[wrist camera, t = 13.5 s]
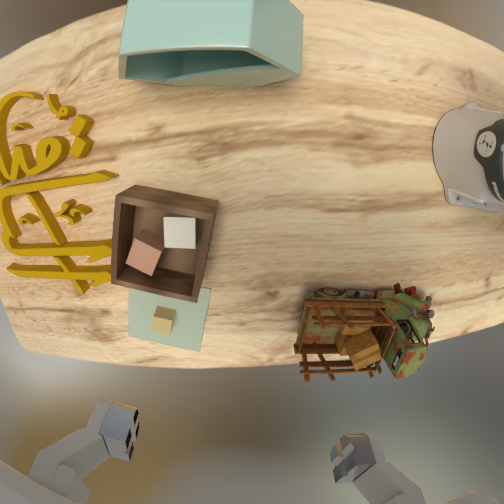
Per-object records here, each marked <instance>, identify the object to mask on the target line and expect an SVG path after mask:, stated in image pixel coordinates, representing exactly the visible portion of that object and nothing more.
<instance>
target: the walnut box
mask: <svg viewBox="0 0 504 504" xmlns="http://www.w3.org/2000/svg"><path fill="white" fill-rule="evenodd" d="M217 205H218V201H217V200H212V199H207V198H202V197H197V196H192V195H187V194H182V193H177V192H172V191H166V190H161V189H156V188H150V187H145V186H139V185H134V186H132V187H130V188H128V189H127V190H125V191H123V192H121V193H119V194H117V195H116V199H115V209H114V221H113V236H112V258H111V283H112V284H116V285H120V286H124V287H128V288H132V289H136V290H140V291H144V292H148V293H153V294H157V295H161V296H166V297H170V298H175V299H179V300H184V301H189V302H193V303H197V301H198V297H199V293H200V289H201V284H202V280H203V276H204V270H205V265H206V260H207V255H208V249H209V244H210V239H211V234H212V229H213V225H214V220H215V215H216V210H217ZM168 212H171V213H176V214H181V215H186V216H191V217H196V218H200V238H199V241H198V243H197V246H196V249H188V248H165V250H164V253H163V255H162V257H161V260H160V262H159V264H158V266H157V268H156V269H155V271H154V273H153V274H152V276H150V275H148V274H146V273H144V272H142V271H140V270H138V269H136V268H134V267H132V266H130V265H128V264H126V261H127V258H128V255H129V252H130V249H131V247H132V244H133V241H134V238H135V237H136V236H137V235H138V234H139V233H140V232H141V231H142V230H143V229H146V230H148V231H150V232H152V233H154V234H156V235H158V236H160V237H162V238H164V220H163V217H164V216H165V215H166V214H167V213H168Z"/></svg>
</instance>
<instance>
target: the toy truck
mask: <svg viewBox="0 0 504 504" xmlns="http://www.w3.org/2000/svg"><path fill="white" fill-rule="evenodd" d="M415 293H416V287H415V286H412V287H408V288H405V293H401V289H400V284H399V283H397V284H395V285H394V290H378V291H377V294H376V298H377V299H375V300H374V297H375V295H374V293H373V292H372V291H369V290H348V289H347V290H345V291H344V294H343V295H342V293H341V292H340V291H339V290H337V289H333V288H322V289H320V290H319V291H318V292H317V294H316V298H313V292H311V294H307V297H305V298H304V304H305V305H304V309H303V314H302V318H301V323H300V327H299V328H298V336H297V340H296V344H294V351H295V354H302V360H303V362H300V367H303V369H304V370H301V371H300V374H304V379H305V382H309V381H310V378H309V374H328V375H329V377H330V379H331V381H335V377H334V375H333V373H352V372H367V371H368V373H369V375H370V378H374V375H373V372H372V371H375V372H376V371H377V370H378V372H379V374H381V372H382V370H381V368H380V363H381V361H382V358H383V359H384V360H385V362H386V364H387V366H388V367H389V369H390V371H391V372H392V374H393V376H394V378H402V377H407V376H412V375H413V374H414V373H416V371H417V370H418V369H419V368H420V367H421V365H422V364H423V363H424V361H425V359H426V356H427V351H428V348H427V346H428V338H429V336H430V334H431V332H433V331H434V328H435V326H434V327H433V329H432V323H431V321H430V319H429V318H433V317H434V311H433V310H429V308H430V306H431V300H432V299H431V297H430V296H426V300H425V301H420V300H419V299H420V297H419V296H418V295H415ZM394 294H395V295H394ZM423 338H425V342H426V345H425V344H424V342H423V340H422V339H423ZM417 340H418V343H415V342H414V341H417ZM411 342H412V343H411ZM401 350H402V352H401ZM306 354H318V356H319V358H320V360H321V361H315V362H307V355H306ZM322 354H340V356H343V355H349V357H350V359H351V360H346V361H325V359H324V357H323V355H322ZM397 355H398V357H399V361H398V362H397V365H396V367H394V365H393V364H394V363H395V361H396V357H397ZM374 363H375V367H370V366H371V365H373V364H374ZM345 366H346V367H348V366H354V369H337V370H335V369H334V370H330V368H329V367H345ZM365 366H366V367H367V368H363V367H365ZM308 367H325V370H308Z"/></svg>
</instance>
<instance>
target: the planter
mask: <svg viewBox="0 0 504 504" xmlns="http://www.w3.org/2000/svg"><path fill="white" fill-rule="evenodd" d="M302 41H303V14H302V13H301V12H300V11H299V10H298V9H297V8H296V7H295V6H294V5H293V4H292V3H291V2H290V1H289V0H128V2H127V7H126V12H125V17H124V23H123V28H122V34H121V41H120V48H119V63H118V75H119V79H127V80H137V81H146V82H155V83H162V84H169V85H176V86H243V87H259V86H263V85H267V84H270V83H274V82H278V81H282V80H286V79H291V78H295V77H299V76H301V62H302Z"/></svg>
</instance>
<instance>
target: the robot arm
mask: <svg viewBox="0 0 504 504" xmlns="http://www.w3.org/2000/svg"><path fill="white" fill-rule="evenodd" d="M433 155H434V161H435V165H436V169H437V172H438V174H439V176H440V178H441V180H442V182H443V184H444V189H445V197H446V200H447V202H448V203H450V204H454V205H460V206H466V207H472V208H477V209H483V210H488V211H493V212H498V211H499V210H500V208H501V207H502V205H503V206H504V116H503V115H502V113H501V112H499V111H494V110H487V109H481V108H480V107H479V106H478V105H477V104H476V103H475V102H467V103H466V104H465V105H464V106H463V107H462V108H460V109H454V110H451V111H449V112H447V113H446V114H445V115H444V116H443V117H442V118H441V120H440V121H439V123H438V125H437V128H436V131H435V135H434V141H433ZM456 198H457V199H456ZM138 414H139V413H138V409H137V408H133V407H130V406H127V405H123V404H120V403H117V402H114V401H111V400H108V399H105V398H102V397H100V399H99V400H98V401H97V404H96V406H95V408H94V410H93V412H92V415H91V417H90V419H89V421H88V424H87V426H86V428H85V429H84V428H81V429H79V430H77V431H75V432H74V433H72V434H70V435H69V436H67V437H65V438H63V439H61V440H60V441H58V442H56V443H54V444H52V445H51V446H49V447H47V448H45V449H43V450H42V451H39V454H38V456H37V458H36V460H35V462H34V465H33V467H32V469H31V471H30V474H29V476H28V477H26V476H25V475H23V474H21V473H20V472H18V471H16V470H15V469H13V468H12V467H10V466H8V465H7V464H5V463H4V462H2V461H1V460H0V504H86V503H87V499H88V495H89V490H88V489H87V487H86V486H85V485H84V483H83V482H82V481H81V478H83V477H84V476H86V475H87V474H88V473H89V472H91V471H92V470H93V469H95V468H96V467H97V466H99V465H100V464H101V463H103V462H104V461H105V460H106V459H108V458H109V456H112V457H115V458H118V459H122V460H125V461H129V462H130V460H131V457H132V453H133V450H134V447H133V442H134V441H135V440H137V436H138V432H139V424H140V423H139V419H138V418H137V417H138ZM330 457H331V463H333V465H335V468H334V470H333V474H334V479H335V483H343V482H352V483H353V484H354V485H355V486H356V487H357V489H358V490H359V491H360V492H361V493H362V495H363V496H364V497H365V498H366V499H367V500H368V502H369V503H370V504H426V503H425V500H424V497H423V493H422V490H421V488H420V487H418V486H417V485H416V484H415V483H413V482H412V481H411V480H410V479H409V478H408V477H406V476H405V475H404V474H403V473H402V472H401V471H399V470H398V469H397V468H396V467H395V466H394V465H392V464H391V463H390V462H387V461H386V458H385V455H384V452H383V449H382V446H381V443H380V440H379V438H378V435H377V434H376V433H362V434H347V435H343V436H342V437H341V438H340V442H338V443H336V444H335V445H334V446H333V447H332V450H331V456H330ZM445 504H498V502H497V501H496V499H495V498H493V497H492V496H491V495H489V494H488V493H486V492H485V491H483V490H481V489H475V490H473V491H471V492H469V493H467V494H465V495H462V496H461V497H458V498H456V499H454V500H452V501H449V502H447V503H445Z"/></svg>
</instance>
